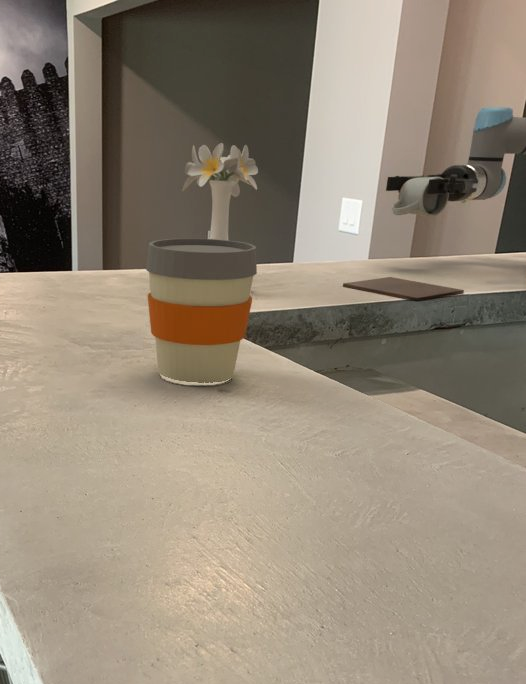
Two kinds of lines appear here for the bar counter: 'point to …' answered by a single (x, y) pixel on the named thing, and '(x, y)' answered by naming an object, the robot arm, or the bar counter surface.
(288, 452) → the bar counter surface
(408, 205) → the ceramic mug
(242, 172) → the flower vase
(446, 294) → the placemat
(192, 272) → the reusable coffee cup
